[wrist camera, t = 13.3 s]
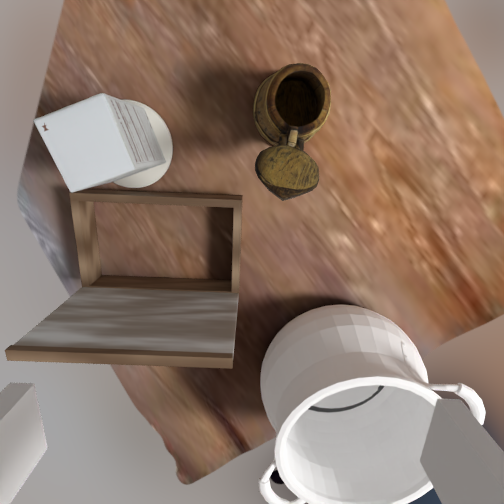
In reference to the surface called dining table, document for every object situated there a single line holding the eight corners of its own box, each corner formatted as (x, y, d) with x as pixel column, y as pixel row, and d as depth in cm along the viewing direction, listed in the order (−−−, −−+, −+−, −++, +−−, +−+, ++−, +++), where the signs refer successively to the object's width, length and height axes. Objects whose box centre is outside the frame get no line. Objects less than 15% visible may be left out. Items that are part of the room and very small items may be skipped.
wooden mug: (239, 172, 44) (230, 190, 27) (261, 63, 40) (268, 1, 23) (301, 186, 45) (332, 213, 27) (330, 80, 40) (387, 34, 23)
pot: (375, 260, 48) (439, 320, 32) (439, 372, 55) (521, 470, 38) (221, 348, 53) (207, 440, 37) (297, 441, 60) (314, 555, 43)
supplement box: (118, 181, 43) (67, 195, 31) (93, 125, 41) (28, 117, 29) (168, 163, 43) (136, 171, 31) (146, 106, 40) (101, 89, 29)
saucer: (85, 98, 41) (82, 97, 40) (171, 102, 41) (170, 101, 40) (95, 185, 44) (92, 186, 44) (174, 188, 45) (173, 189, 44)
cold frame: (84, 188, 45) (-27, 218, 27) (242, 195, 45) (236, 229, 27) (96, 282, 49) (7, 360, 31) (239, 287, 49) (232, 368, 32)
